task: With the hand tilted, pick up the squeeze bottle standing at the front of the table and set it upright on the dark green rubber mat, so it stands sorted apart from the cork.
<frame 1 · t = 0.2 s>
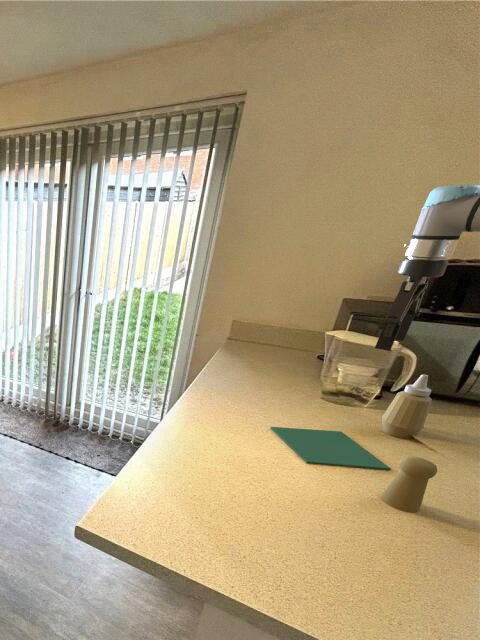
hand: (389, 344, 101), 27 cm above the countertop, tool pointing down, fingers open, 13 cm apart
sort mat: (324, 447, 105), on the countertop
cork: (399, 503, 85), on the countertop
squeeze bottle: (396, 434, 111), on the countertop
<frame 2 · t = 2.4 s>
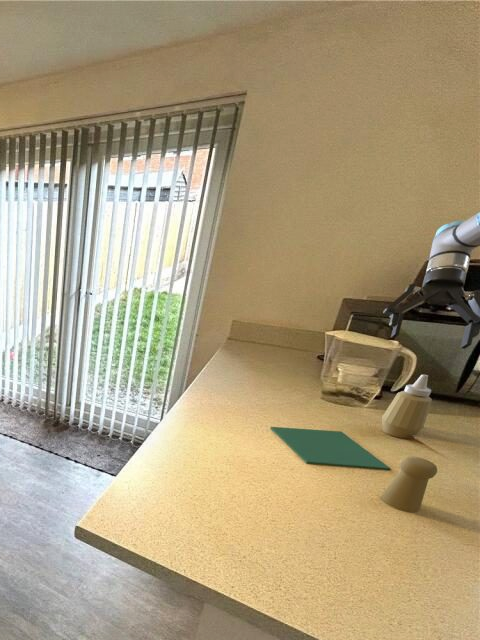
hand: (429, 341, 107), 25 cm above the countertop, tool tilted 40°, fingers open, 13 cm apart
nothing on the countertop moved.
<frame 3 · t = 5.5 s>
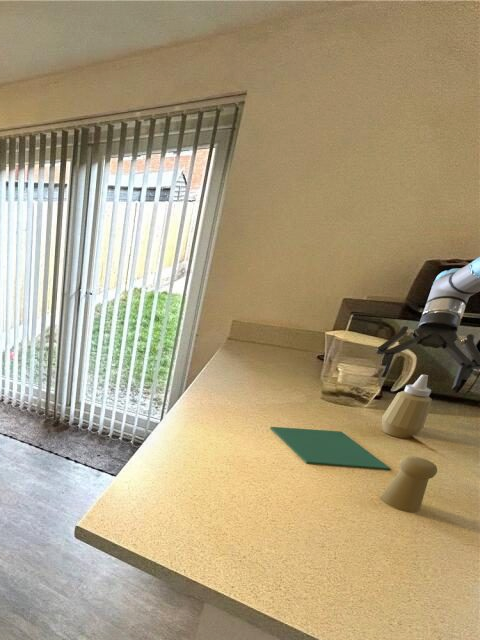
hand: (418, 381, 109), 14 cm above the countertop, tool tilted 45°, fingers open, 13 cm apart
nothing on the countertop moved.
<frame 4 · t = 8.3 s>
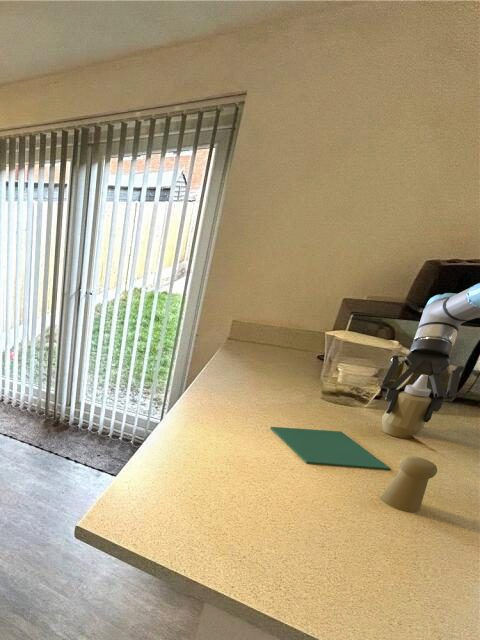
hand: (407, 415, 106), 7 cm above the countertop, tool tilted 45°, fingers closed on squeeze bottle, 6 cm apart
squeeze bottle: (396, 434, 111), on the countertop, touching gripper
everything else where it was.
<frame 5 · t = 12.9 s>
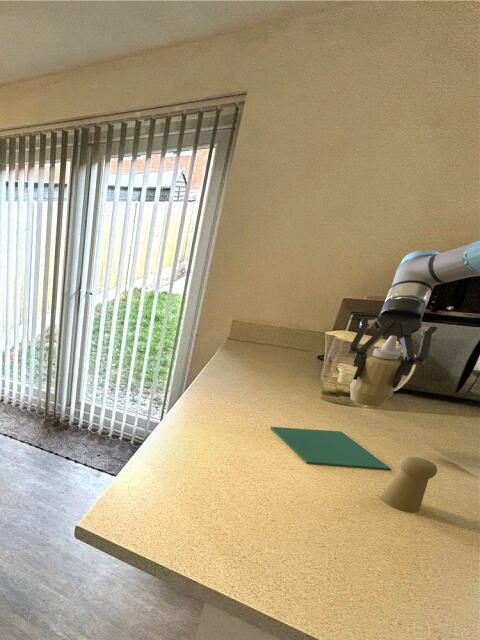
hand: (375, 381, 97), 19 cm above the countertop, tool tilted 45°, fingers closed on squeeze bottle, 6 cm apart
squeeze bottle: (365, 403, 103), point 12 cm above the countertop, touching gripper
everything else where it was.
when the fingers open (8 cm above the countertop, at t = 17.5 s): squeeze bottle stays where it is, resting on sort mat.
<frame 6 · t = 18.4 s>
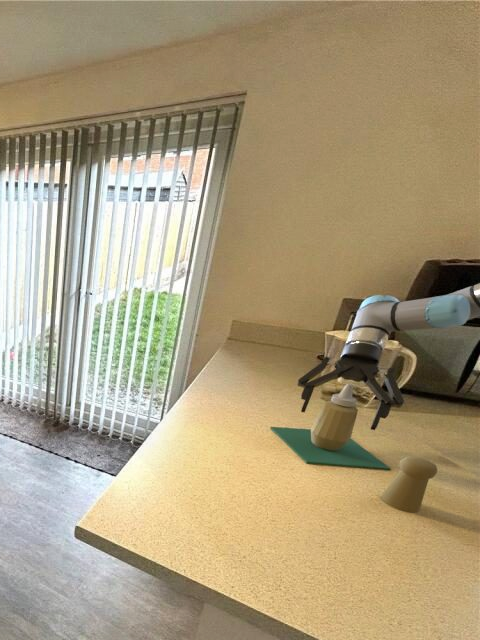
hand: (336, 418, 100), 10 cm above the countertop, tool tilted 45°, fingers open, 13 cm apart
squeeze bottle: (325, 446, 105), resting on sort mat
everything else where it was.
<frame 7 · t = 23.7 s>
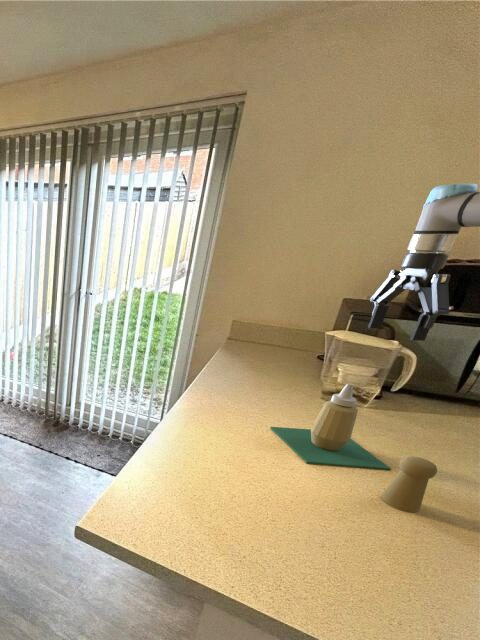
hand: (394, 333, 107), 27 cm above the countertop, tool pointing down, fingers open, 13 cm apart
nothing on the countertop moved.
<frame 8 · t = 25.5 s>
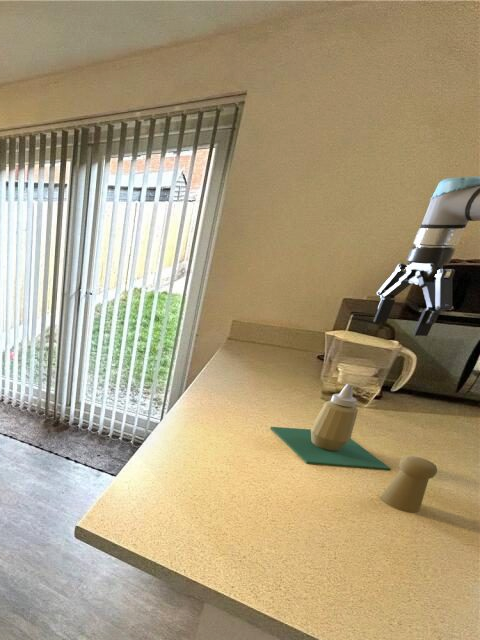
hand: (398, 328, 107), 29 cm above the countertop, tool pointing down, fingers open, 13 cm apart
nothing on the countertop moved.
at the end: squeeze bottle inside the target area on the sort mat (0.1 cm from its centre), point 0.4 cm above the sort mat's base; squeeze bottle tilted 0°; cork moved 0.2 cm from its start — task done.
